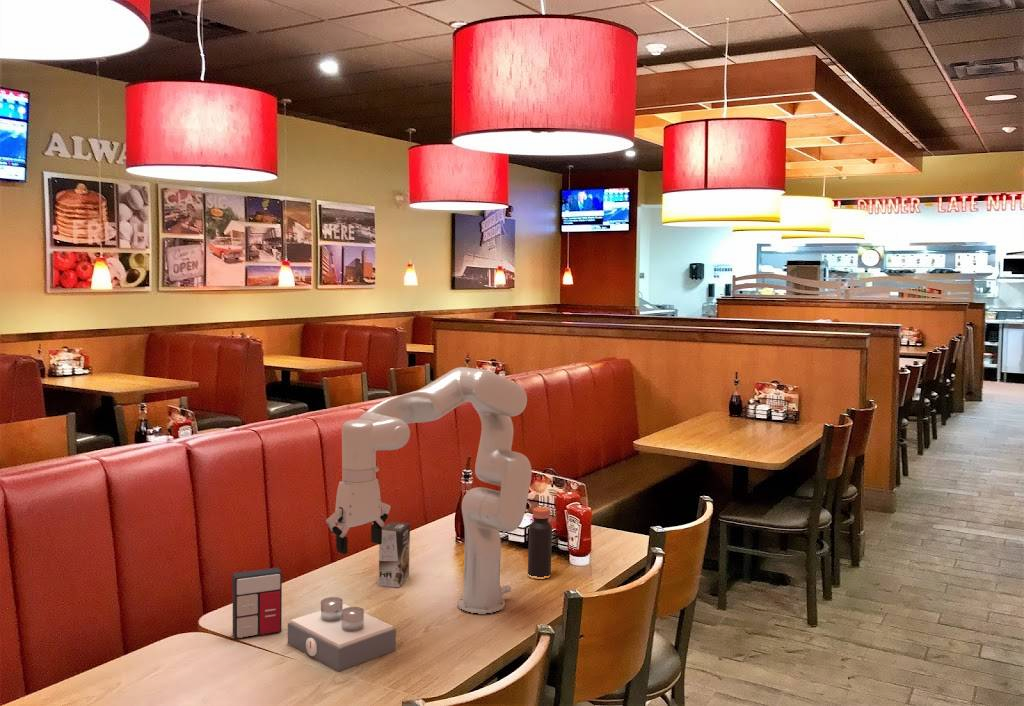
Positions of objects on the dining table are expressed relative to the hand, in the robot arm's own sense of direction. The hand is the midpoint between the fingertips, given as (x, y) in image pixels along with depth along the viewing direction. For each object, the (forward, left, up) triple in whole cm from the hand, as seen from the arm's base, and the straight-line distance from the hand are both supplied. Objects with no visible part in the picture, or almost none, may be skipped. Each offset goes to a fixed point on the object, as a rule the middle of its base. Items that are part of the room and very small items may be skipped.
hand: (359, 547), depth 199 cm
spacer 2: (+2, 0, -18) cm, 19 cm away
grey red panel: (+12, -24, -24) cm, 36 cm away
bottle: (-69, -5, -24) cm, 74 cm away
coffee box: (-35, -30, -24) cm, 52 cm away
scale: (+2, -4, -24) cm, 25 cm away
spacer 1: (+2, -8, -18) cm, 20 cm away
